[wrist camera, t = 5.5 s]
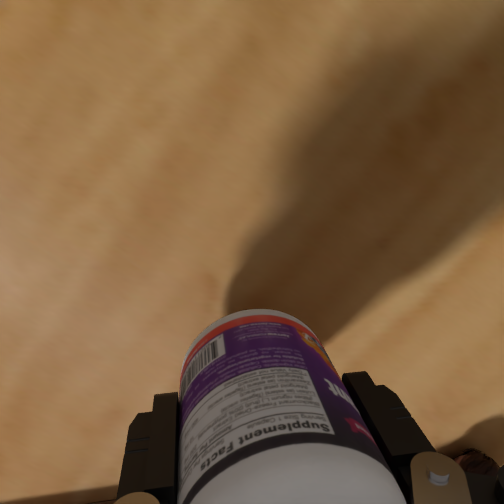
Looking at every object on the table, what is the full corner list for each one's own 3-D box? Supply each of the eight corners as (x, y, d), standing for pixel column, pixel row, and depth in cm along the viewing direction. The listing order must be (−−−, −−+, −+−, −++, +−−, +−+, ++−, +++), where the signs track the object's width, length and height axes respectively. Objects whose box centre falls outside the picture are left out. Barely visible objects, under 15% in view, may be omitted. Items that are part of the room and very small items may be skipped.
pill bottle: (331, 407, 17) (493, 760, 8) (199, 441, 17) (213, 849, 8) (314, 287, 15) (501, 576, 6) (163, 323, 15) (124, 686, 6)
